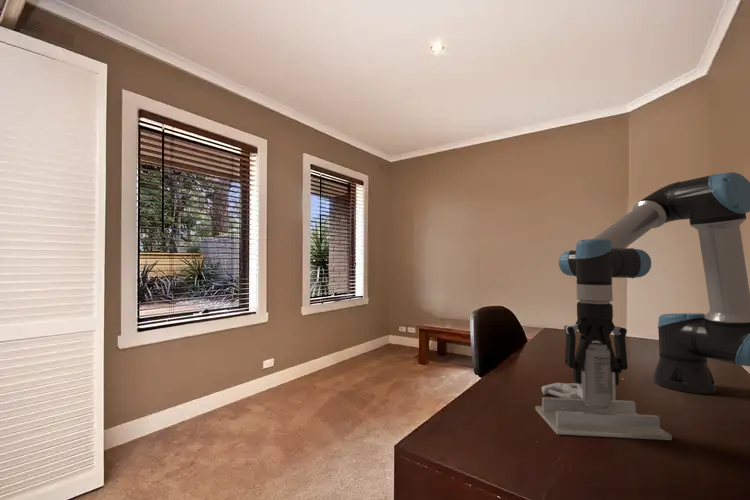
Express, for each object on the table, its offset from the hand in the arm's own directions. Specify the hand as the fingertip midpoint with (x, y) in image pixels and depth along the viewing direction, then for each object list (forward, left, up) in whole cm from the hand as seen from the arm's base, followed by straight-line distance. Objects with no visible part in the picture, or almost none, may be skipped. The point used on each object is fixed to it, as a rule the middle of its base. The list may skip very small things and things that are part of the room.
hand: (596, 397), depth 86 cm
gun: (-3, -21, -7) cm, 22 cm away
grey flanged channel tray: (0, 0, -6) cm, 6 cm away
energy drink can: (0, 0, -2) cm, 2 cm away
